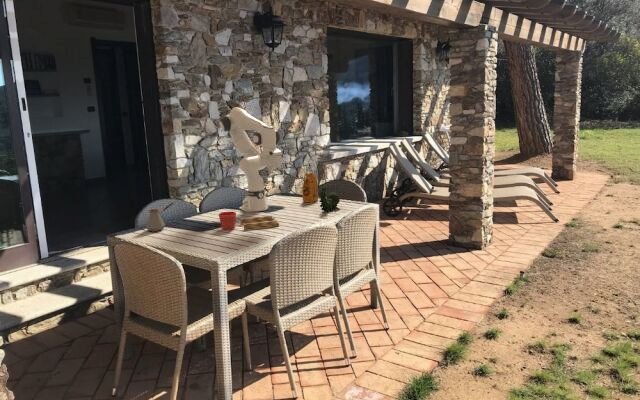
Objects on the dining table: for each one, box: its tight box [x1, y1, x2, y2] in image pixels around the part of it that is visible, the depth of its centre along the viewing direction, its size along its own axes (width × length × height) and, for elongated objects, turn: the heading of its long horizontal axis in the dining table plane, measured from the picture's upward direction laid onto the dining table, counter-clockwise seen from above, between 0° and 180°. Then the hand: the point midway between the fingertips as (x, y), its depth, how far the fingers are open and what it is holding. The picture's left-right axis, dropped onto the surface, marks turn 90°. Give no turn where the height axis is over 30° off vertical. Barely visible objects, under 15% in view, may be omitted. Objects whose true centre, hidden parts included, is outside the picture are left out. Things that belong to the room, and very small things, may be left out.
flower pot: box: [218, 211, 237, 231], centre depth 307 cm, size 11×11×10 cm
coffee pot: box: [145, 202, 174, 232], centre depth 315 cm, size 21×12×15 cm, turn 144°
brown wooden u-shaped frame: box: [240, 215, 280, 231], centre depth 313 cm, size 22×17×4 cm
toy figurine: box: [318, 186, 341, 212], centre depth 347 cm, size 9×19×25 cm
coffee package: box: [301, 171, 319, 204], centre depth 378 cm, size 10×12×22 cm
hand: (271, 173), depth 317 cm, fingers closed
